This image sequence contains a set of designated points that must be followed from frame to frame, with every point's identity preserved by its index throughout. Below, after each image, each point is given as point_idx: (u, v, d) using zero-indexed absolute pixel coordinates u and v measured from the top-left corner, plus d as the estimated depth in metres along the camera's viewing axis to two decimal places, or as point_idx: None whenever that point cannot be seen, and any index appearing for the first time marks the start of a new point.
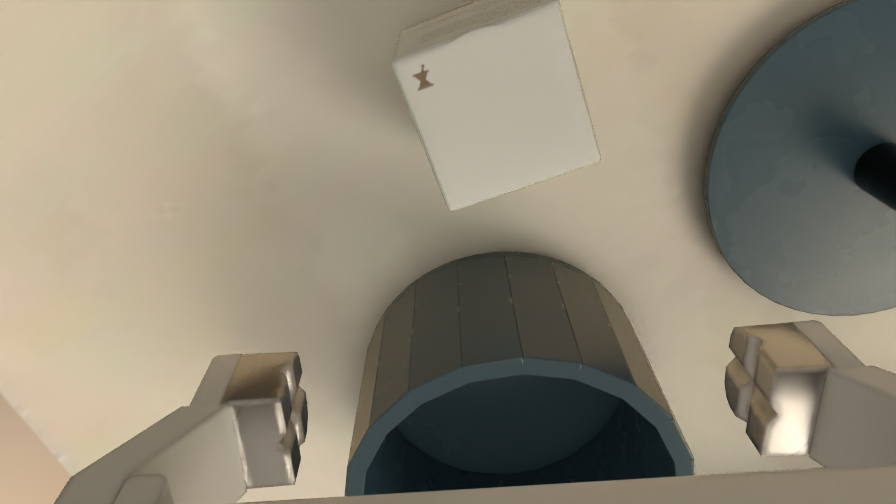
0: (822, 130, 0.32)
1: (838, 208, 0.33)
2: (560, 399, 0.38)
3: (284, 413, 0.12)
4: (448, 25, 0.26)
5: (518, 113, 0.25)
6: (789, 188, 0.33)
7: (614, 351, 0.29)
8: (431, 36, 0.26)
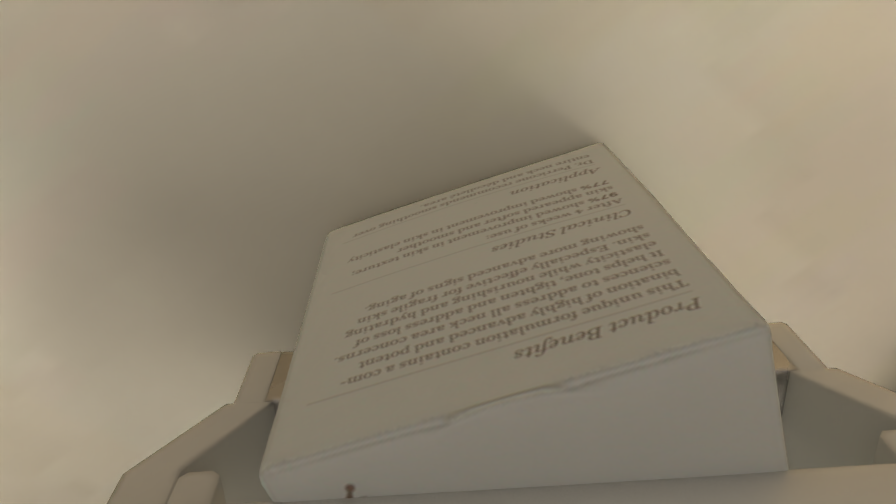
0: None
1: None
2: None
3: None
4: (429, 294, 0.10)
5: None
6: None
7: None
8: (382, 348, 0.10)
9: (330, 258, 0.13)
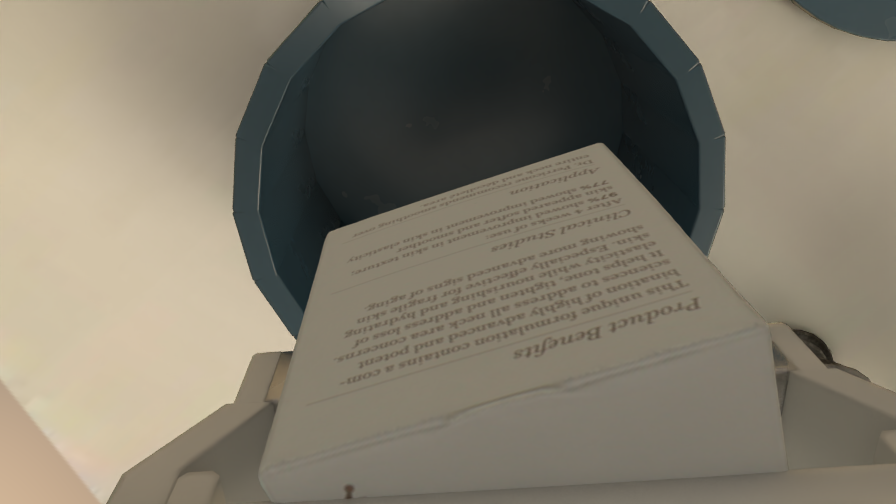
0: None
1: None
2: None
3: None
4: (428, 294, 0.10)
5: None
6: None
7: None
8: (382, 348, 0.10)
9: (330, 258, 0.13)
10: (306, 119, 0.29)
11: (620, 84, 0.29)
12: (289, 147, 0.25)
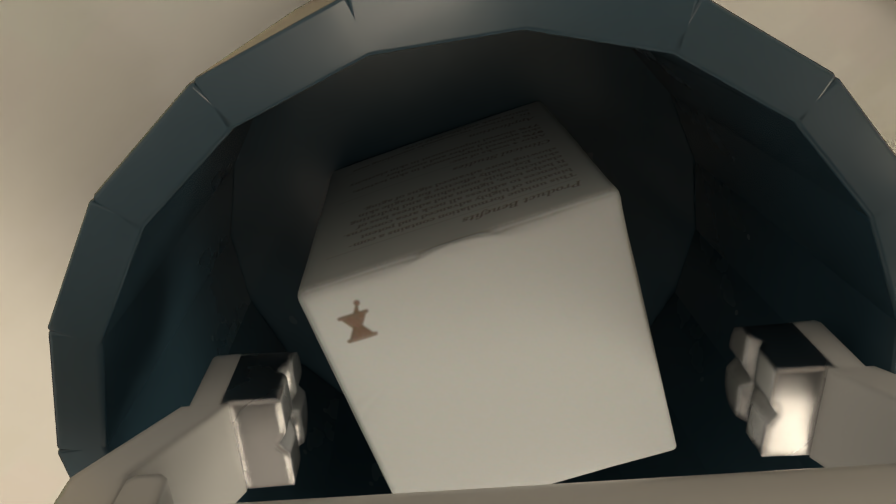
0: None
1: None
2: None
3: (284, 413, 0.12)
4: (408, 197, 0.15)
5: (534, 379, 0.13)
6: None
7: None
8: (376, 226, 0.14)
9: (336, 185, 0.18)
10: (232, 218, 0.19)
11: (694, 164, 0.20)
12: (191, 284, 0.16)
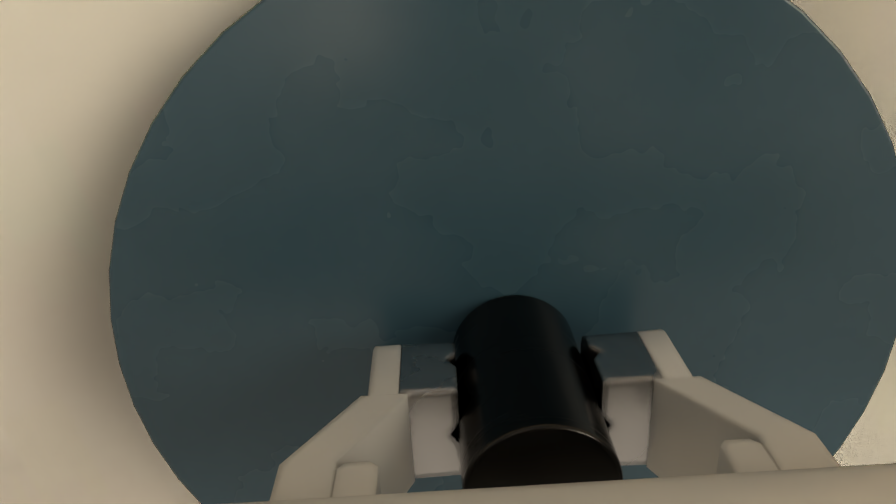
0: None
1: None
2: None
3: None
4: None
5: None
6: None
7: None
8: None
9: None
10: None
11: None
12: None
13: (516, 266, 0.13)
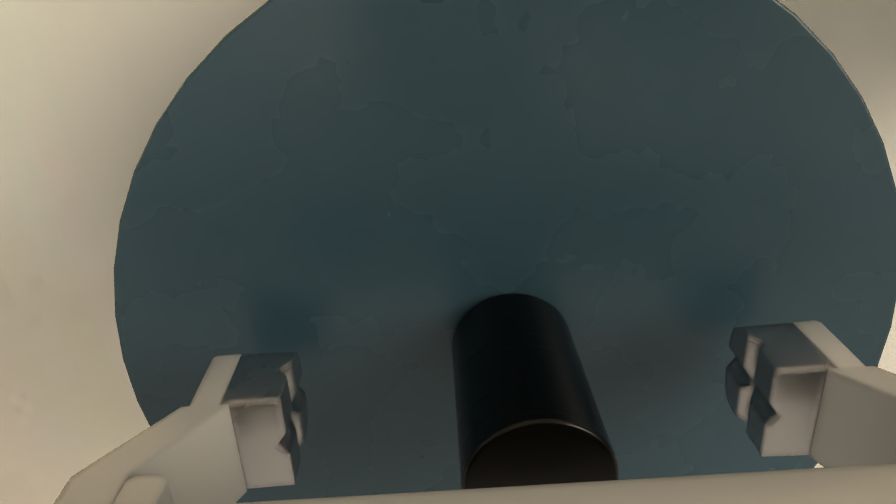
0: (360, 411, 0.15)
1: None
2: None
3: (284, 413, 0.12)
4: None
5: None
6: None
7: None
8: None
9: None
10: None
11: None
12: None
13: (514, 265, 0.14)
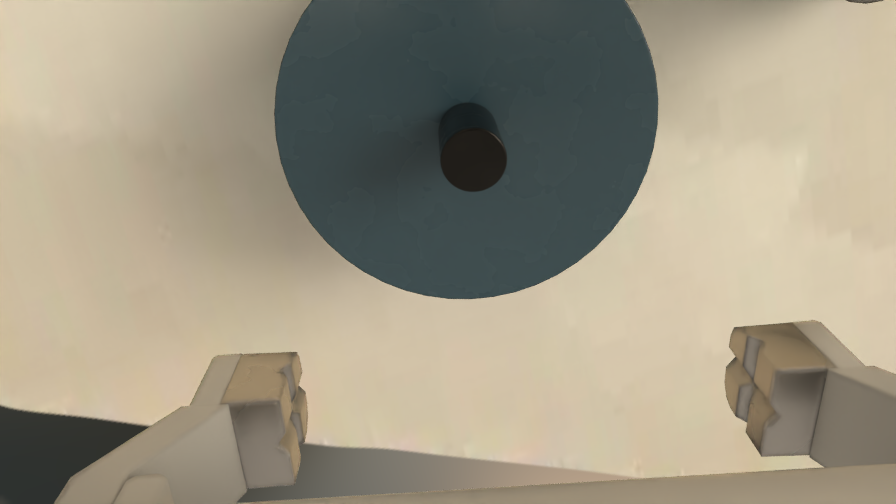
0: (392, 169, 0.29)
1: None
2: None
3: (284, 413, 0.12)
4: None
5: None
6: (436, 219, 0.30)
7: None
8: None
9: None
10: None
11: None
12: None
13: (468, 87, 0.28)
